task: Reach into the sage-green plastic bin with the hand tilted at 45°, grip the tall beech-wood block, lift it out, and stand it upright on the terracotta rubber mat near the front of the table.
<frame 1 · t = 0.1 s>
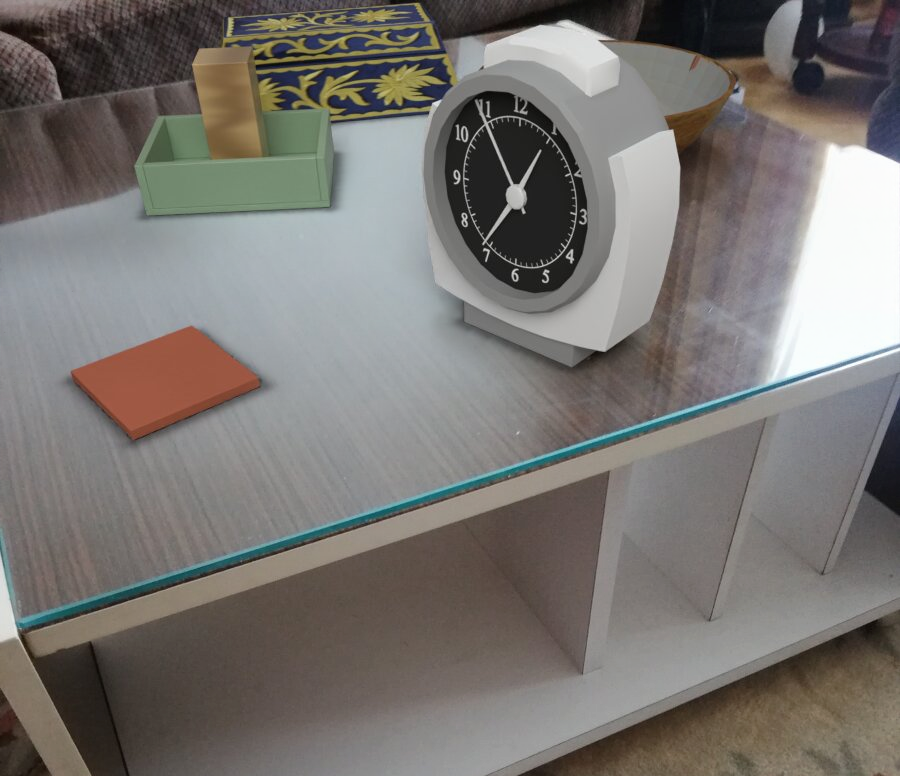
alarm clock: (537, 332, 71), on the table
mat: (166, 383, 67), on the table
decorative box: (336, 108, 109), on the table
block: (244, 177, 92), point 1 cm above the table, touching bin
bin: (245, 183, 93), on the table
bowl: (595, 163, 95), on the table
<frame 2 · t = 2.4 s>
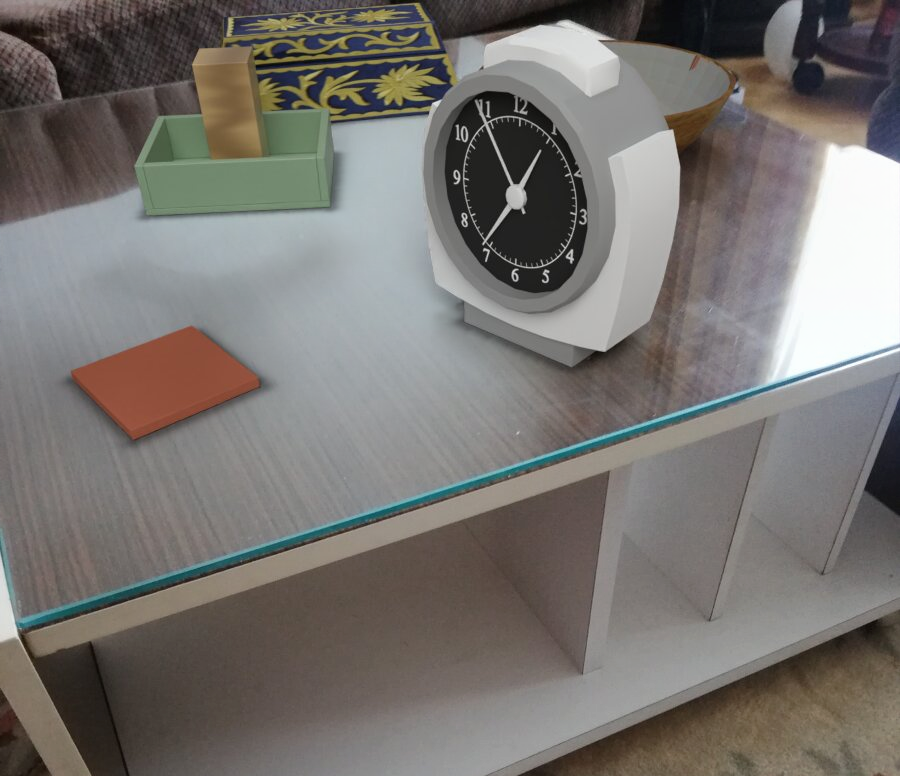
nothing on the table moved.
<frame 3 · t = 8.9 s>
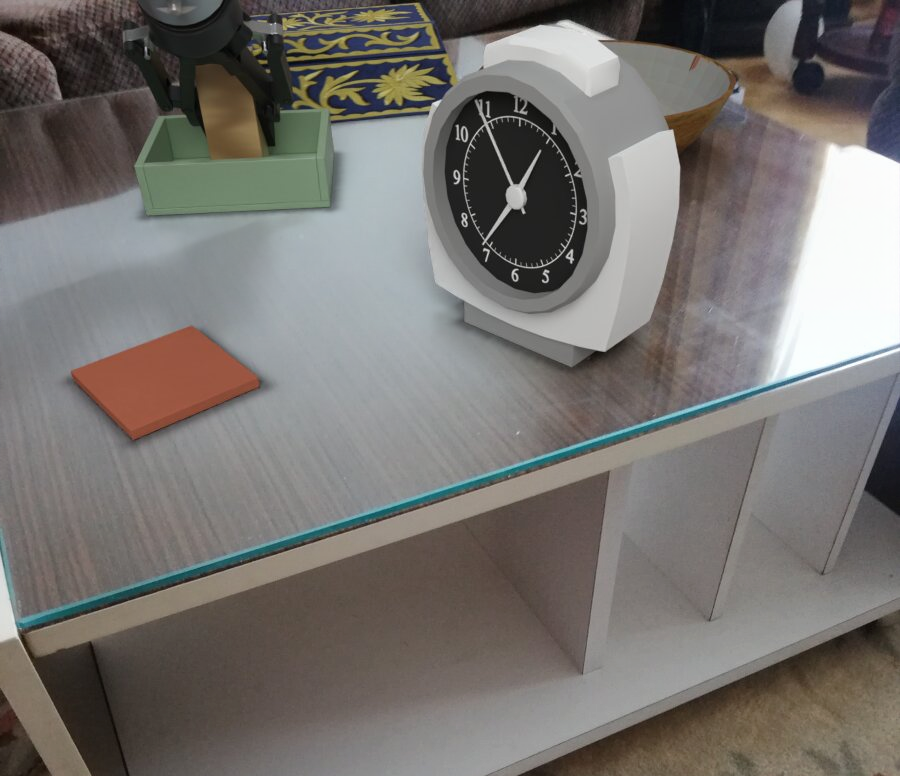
hand: (242, 134, 93), 3 cm above the table, tool tilted 45°, fingers closed on block, 5 cm apart
block: (244, 177, 92), point 1 cm above the table, touching bin, gripper
everything else where it was.
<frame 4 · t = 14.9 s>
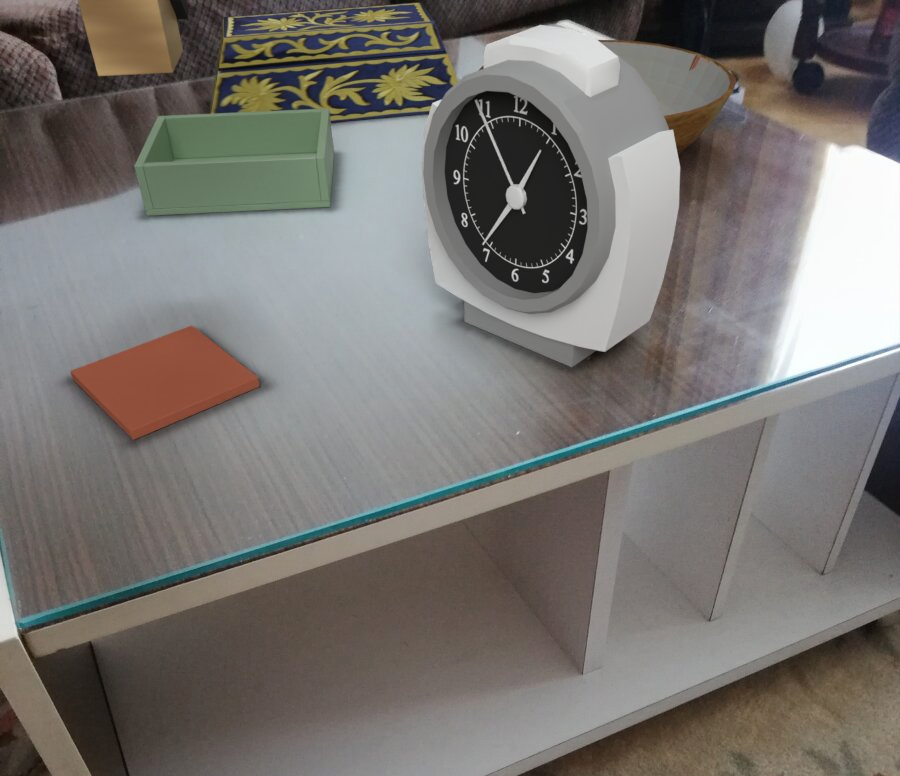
hand: (139, 1, 64), 20 cm above the table, tool tilted 45°, fingers closed on block, 5 cm apart
block: (141, 63, 63), point 18 cm above the table, touching gripper
everything else where it was.
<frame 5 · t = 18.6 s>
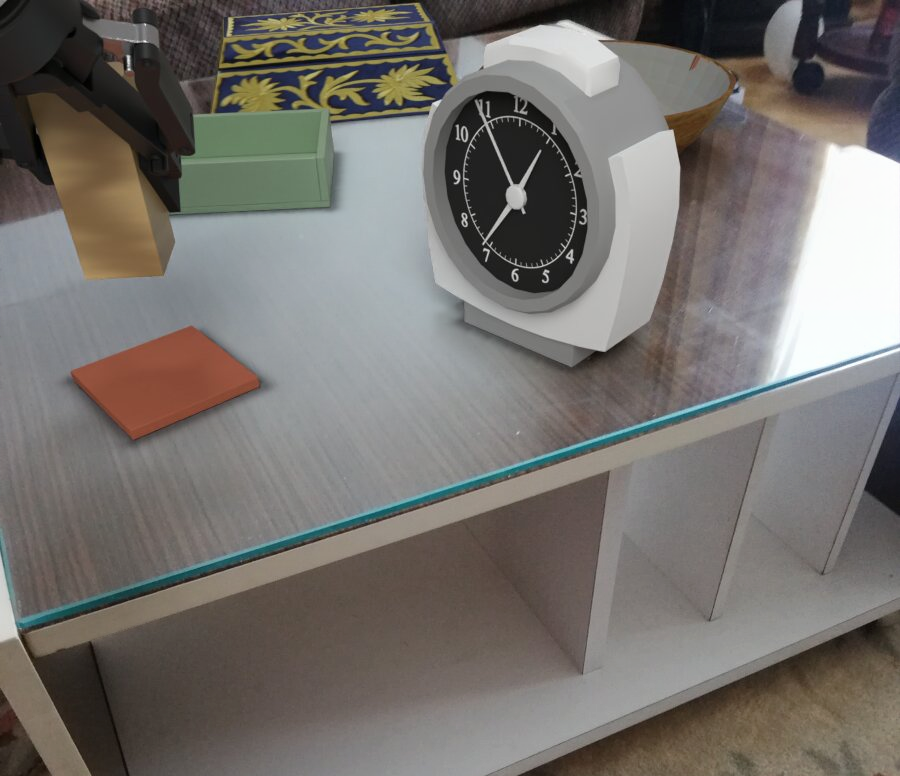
hand: (130, 193, 61), 12 cm above the table, tool tilted 45°, fingers closed on block, 5 cm apart
block: (131, 260, 60), point 9 cm above the table, touching gripper
everything else where it was.
when the fingers open (4 cm above the table, at t = 21.2 s): block stays where it is, resting on mat.
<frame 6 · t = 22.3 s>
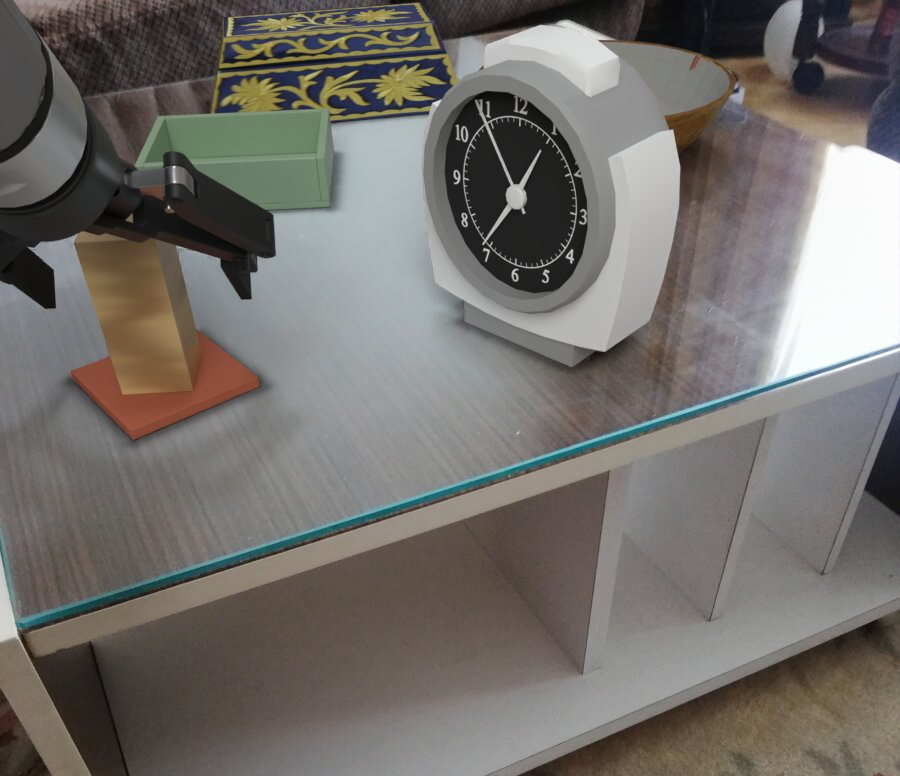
hand: (148, 285, 64), 6 cm above the table, tool tilted 45°, fingers open, 13 cm apart
block: (163, 374, 66), point 1 cm above the table, touching mat
everything else where it was.
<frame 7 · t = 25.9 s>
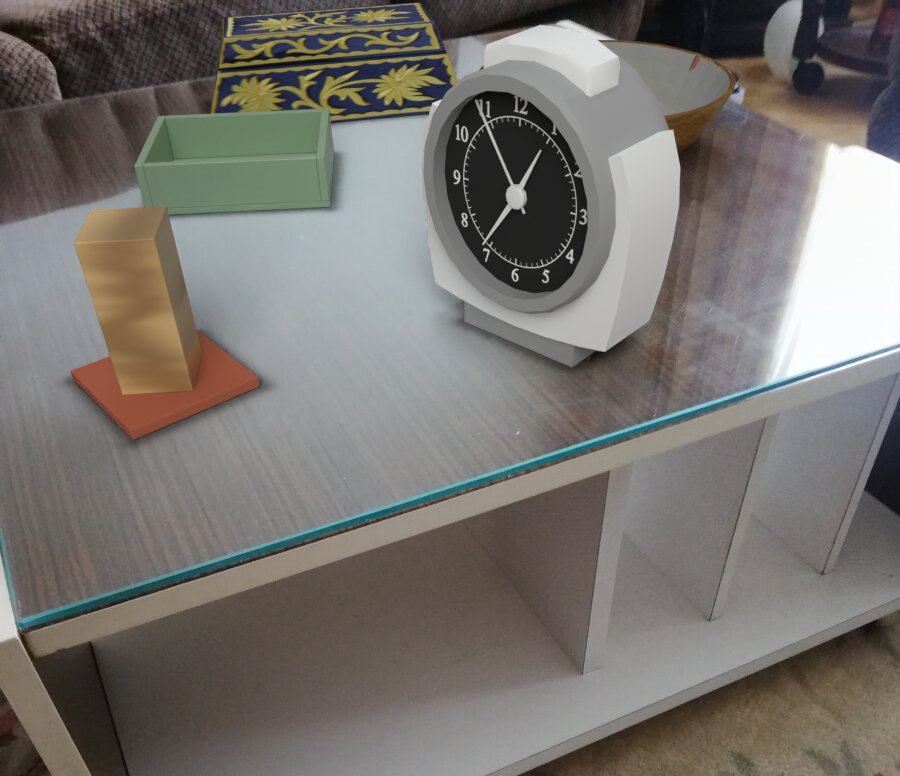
nothing on the table moved.
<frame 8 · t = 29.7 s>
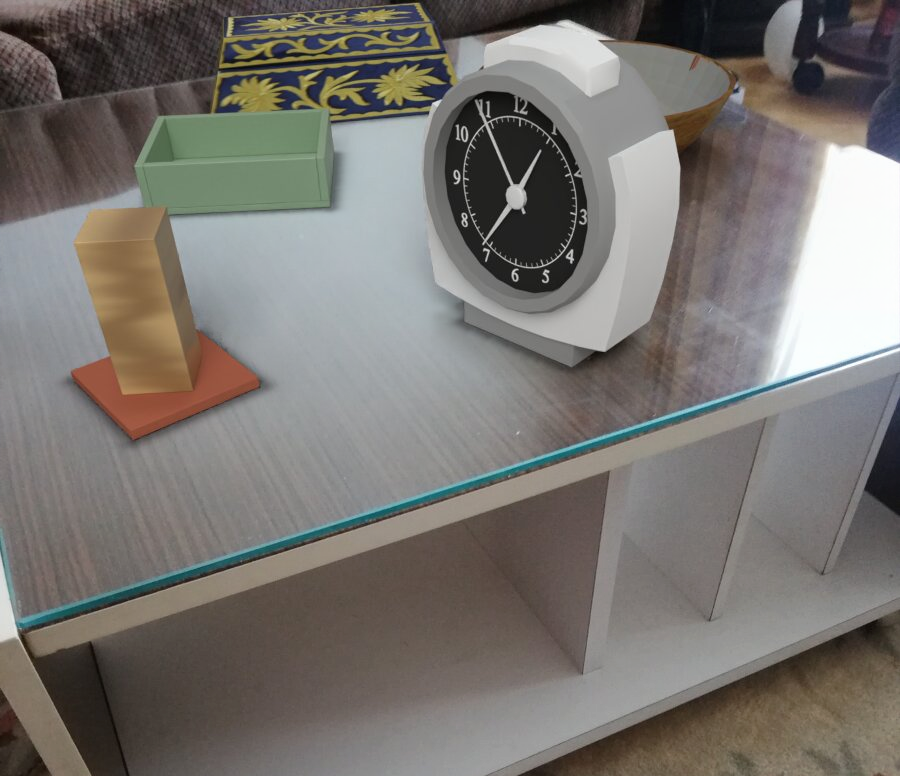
nothing on the table moved.
at the end: block inside the target area on the mat (0.1 cm from its centre), point 0.8 cm above the mat's base; block tilted 0°; the gripper is holding nothing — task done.
